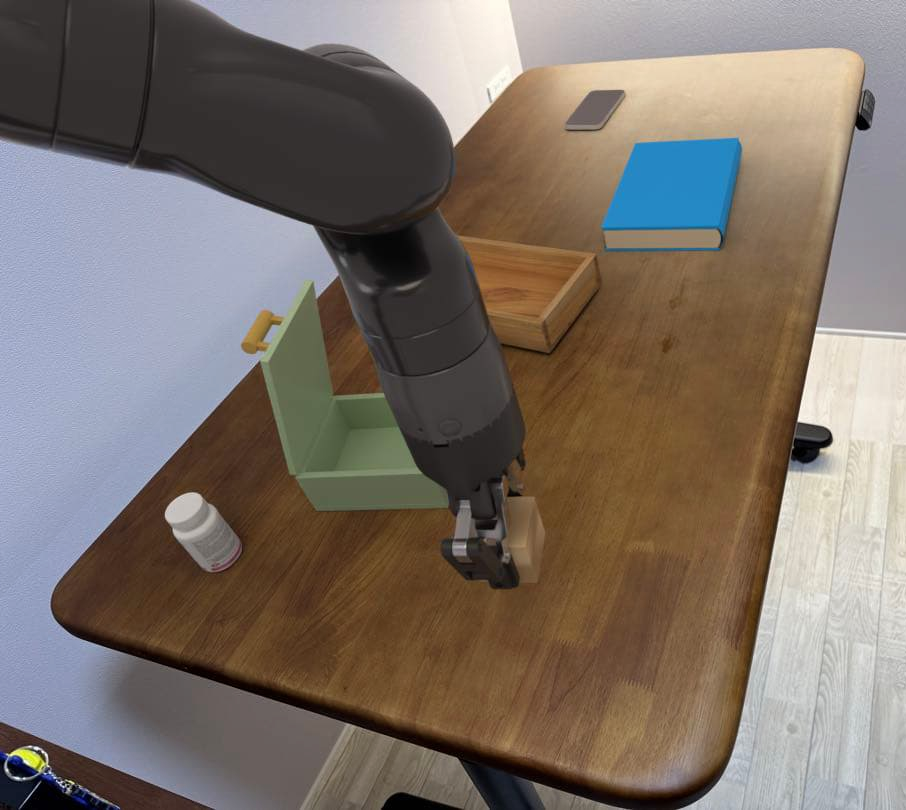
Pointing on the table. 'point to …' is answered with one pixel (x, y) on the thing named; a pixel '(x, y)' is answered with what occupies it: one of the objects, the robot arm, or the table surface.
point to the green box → (364, 461)
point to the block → (524, 537)
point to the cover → (294, 372)
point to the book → (674, 196)
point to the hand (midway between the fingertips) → (511, 554)
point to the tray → (532, 289)
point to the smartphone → (595, 109)
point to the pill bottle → (203, 532)
